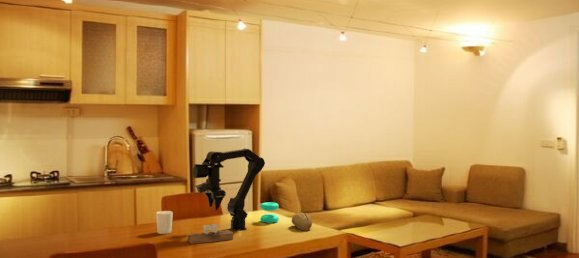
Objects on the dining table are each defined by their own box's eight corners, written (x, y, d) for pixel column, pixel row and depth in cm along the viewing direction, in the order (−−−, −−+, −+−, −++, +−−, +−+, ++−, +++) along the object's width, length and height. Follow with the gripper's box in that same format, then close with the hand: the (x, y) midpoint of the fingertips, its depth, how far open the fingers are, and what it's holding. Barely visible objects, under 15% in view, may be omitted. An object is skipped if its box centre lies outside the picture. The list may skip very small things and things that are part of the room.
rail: (187, 240, 235) (187, 234, 235) (228, 236, 244) (228, 230, 244) (191, 243, 229) (191, 237, 229) (233, 239, 238) (233, 232, 238)
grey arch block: (203, 238, 236) (203, 225, 236) (215, 236, 239) (215, 224, 239) (205, 239, 234) (205, 226, 234) (217, 237, 237) (217, 225, 237)
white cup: (168, 234, 246) (168, 214, 246) (153, 233, 248) (153, 213, 247) (175, 231, 254) (175, 211, 253) (160, 230, 255) (160, 210, 255)
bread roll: (304, 224, 272) (304, 209, 272) (316, 230, 258) (316, 215, 258) (287, 225, 269) (288, 210, 268) (299, 232, 255) (299, 216, 255)
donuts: (279, 205, 274) (261, 205, 273) (279, 223, 274) (260, 223, 273) (277, 201, 284) (260, 201, 283) (277, 219, 284) (259, 219, 283)
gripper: (192, 175, 256) (192, 206, 256) (203, 180, 239) (203, 213, 239) (213, 174, 261) (213, 204, 261) (226, 178, 244) (225, 211, 244)
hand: (213, 208), depth 251 cm, fingers open, 9 cm apart
